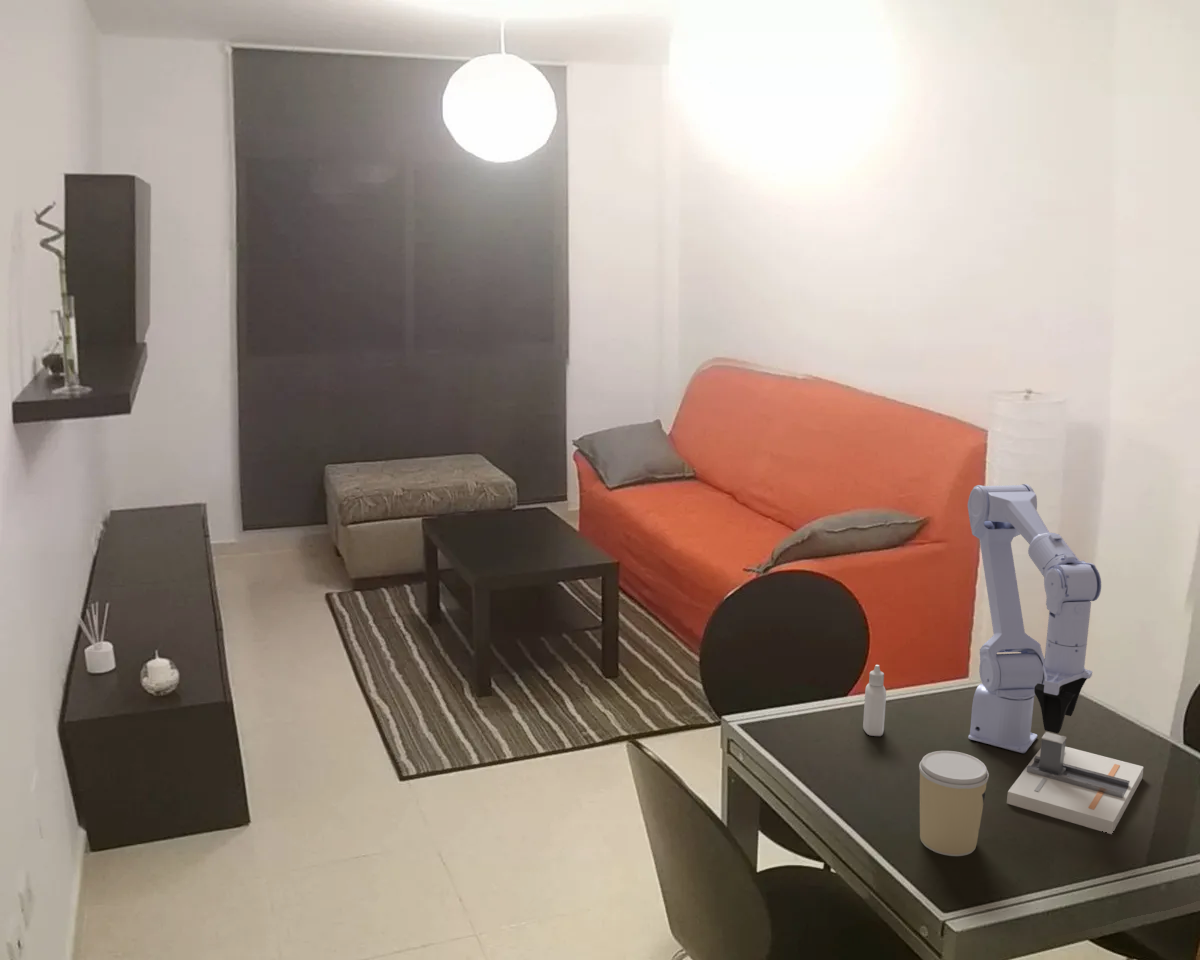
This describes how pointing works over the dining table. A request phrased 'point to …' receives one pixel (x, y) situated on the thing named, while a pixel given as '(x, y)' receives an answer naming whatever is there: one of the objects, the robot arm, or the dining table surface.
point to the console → (1079, 789)
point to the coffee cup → (951, 801)
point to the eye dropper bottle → (874, 703)
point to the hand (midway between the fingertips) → (1058, 722)
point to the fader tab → (1052, 753)
